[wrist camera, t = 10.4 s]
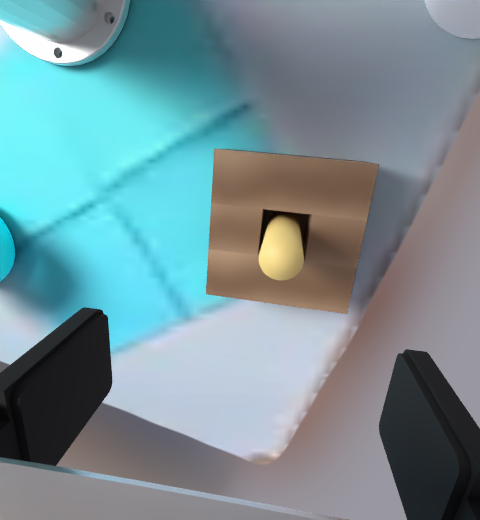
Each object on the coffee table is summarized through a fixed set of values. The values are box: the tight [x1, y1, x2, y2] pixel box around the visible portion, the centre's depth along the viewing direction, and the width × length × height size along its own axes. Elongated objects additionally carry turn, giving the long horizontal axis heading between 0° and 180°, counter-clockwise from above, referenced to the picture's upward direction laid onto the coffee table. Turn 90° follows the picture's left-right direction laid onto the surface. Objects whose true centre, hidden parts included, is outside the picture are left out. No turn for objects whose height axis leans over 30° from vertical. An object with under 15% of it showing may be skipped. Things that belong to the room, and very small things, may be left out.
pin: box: [259, 211, 304, 280], centre depth 26 cm, size 3×3×10 cm
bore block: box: [206, 149, 379, 314], centre depth 29 cm, size 12×12×6 cm
